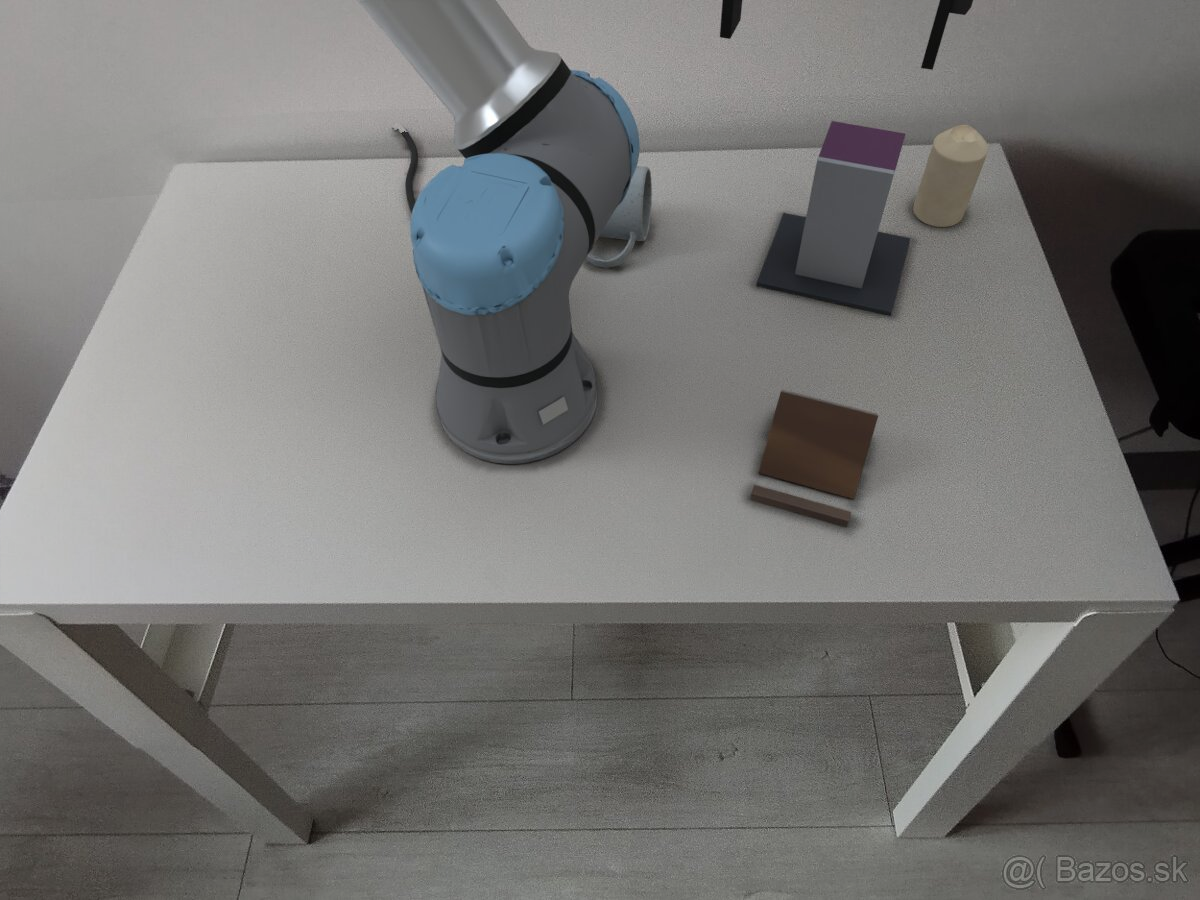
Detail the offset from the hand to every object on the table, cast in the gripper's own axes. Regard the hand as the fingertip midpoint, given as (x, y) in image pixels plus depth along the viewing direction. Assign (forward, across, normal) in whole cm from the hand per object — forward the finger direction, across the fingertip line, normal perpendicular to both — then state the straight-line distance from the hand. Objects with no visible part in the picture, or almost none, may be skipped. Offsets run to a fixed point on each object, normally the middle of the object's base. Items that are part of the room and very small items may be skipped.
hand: (827, 43), depth 57 cm
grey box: (+29, -3, -20) cm, 36 cm away
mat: (+32, -3, -16) cm, 35 cm away
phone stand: (+33, -7, +12) cm, 35 cm away
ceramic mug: (+32, +21, -12) cm, 40 cm away
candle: (+32, -12, -28) cm, 44 cm away
